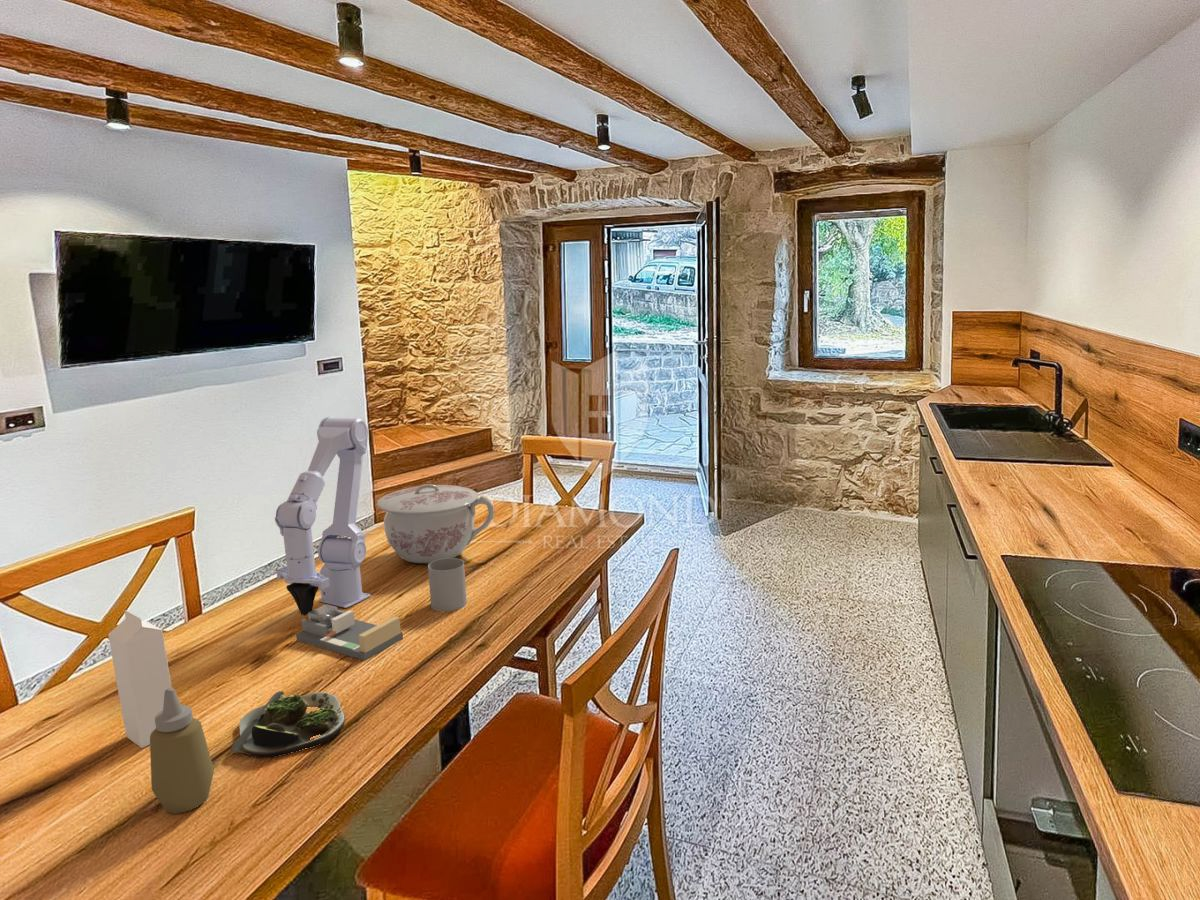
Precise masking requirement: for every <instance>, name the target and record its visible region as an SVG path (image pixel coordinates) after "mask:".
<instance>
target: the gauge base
mask: <svg viewBox="0 0 1200 900" xmlns="http://www.w3.org/2000/svg"><path fill="white" fill-rule="evenodd" d="M345 612H346V611H345V610H341V609H338V616H339V615H341V614H343V613H345ZM354 622H355V624H354V625H352V626H350V627H348V628H346V629H344V630H342V631H340V632H338V633H335V634H333V635H331V636H329V637H326V634H328V633H330V632H332V631H333V630H332V626H330V627H328V628H327V625H324V624H320V623H317V622H313V621H310V620H309V619H306V618H304V619H302V620H301V627H302V628H301V629H302V631H299V632H297V633H296V634H295V637H296V641H297V642H301V643H304V644H307V645H311V646H314V647H317V648H321V649H324V650H328V651H332V652H334V653H338V654H340V655H341V654H342V655H345V656H348V657H351V658H354V659H358V660H361V661H363V662H365V661H366V660H368V659H370V658H372V657H373V656H374V655H377V654H379V653H381V652H382V651H384V650H386V649H387V648H389V647H390V646H393V645H394V644H396V643H397V641H398V642H399V641H401V640H403V639H404V637H403V634H404V633H403V631H401V621H400V617H398V616H394V615H393V616H391V617H390V618H388V619H386V620H385V621H383V622H381V623H379V624H374V623H370V622H366V621H362V620H358V619H355V618H354ZM395 642H396V643H395ZM385 648H386V649H385ZM378 652H379V653H378Z"/></svg>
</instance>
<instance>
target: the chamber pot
mask: <svg viewBox="0 0 1200 900" xmlns="http://www.w3.org/2000/svg"><path fill="white" fill-rule="evenodd" d="M479 505H485V506H486V507H487V513H488V515H487V518H486V519H485V520H484V522H483V523H482V524H481V525H480V526H477V527H475V516H476V514H477V513H476V512H477V511H476V507H477V506H479ZM376 507H377V508H378V509H380V510H381V511H383V512H385V515H384V517H383V528H384V532H385V536H386V539H387V542H388V543H387V544H389V546H390V547H391V548H392V549H393V551H394V552H395V553H396V554H397V556H399V557H400V558H401V559H402V560H404V561H406V562H409V563H414V564H421V565H422V564H423V565H428V564H429V563H431V562H432V561H435V560H438V559H443V558H456V557H458V556H459V555H462V553H463V552H464V551H465V549H466V548H467V546H469V545H470V544H471V543H472V541H473V540H474V538H475V537H476V536H477V535H478V534H479V533H481V532H482V531H483V530H485V529H486V528H488V526H489V525H490V523H491V522H492V520H493V519H494V516H495V509H494V508H495V507H494V505H493V502H492V501H491V500H490V499H489V498H488V497H486V496H484V495H480V497H479V495H478V492H477V491H475V490H474V489H472V488H468V487H465V486H459V485H453V484H451V485H449V484H433V483H431V484H430V483H426V484H421V485H418V486H412V487H407V488H403V489H399V490H396V491H392V492H390V493H388V494H385V495H383V496H382V497H380V498H379V499H378V500H377V501H376Z"/></svg>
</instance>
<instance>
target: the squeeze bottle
mask: <svg viewBox="0 0 1200 900" xmlns="http://www.w3.org/2000/svg"><path fill="white" fill-rule="evenodd" d="M192 711H193V710H192V707H190V706H189V705H186V704H185V705H184V704H183V705H182V704H181V701H180V699H179V697H178V695H177V692H176V690H175V689H174V688H173V687H172V688H169V689H167V690H165V694H164V704H163V710H162V711H161V712H159V713H158V714H157V715H156V716H155V725H156V729H155V730H154V731H153V732H152V733H151V735H150V745H149V747H150V748H149V749H150V752H149V753H150V755H149V756H150V776H151V777H150V778H151V779H150V780H151V783H150V784H151V791H152V793H153V794H154V795H155V797H156V798H157V800H158V801H159V803H160V805H161V806H162V808H163V809H164V811H165V812H166V813H169V812H170V814H182V813H181V812H183V813H187V812H186V811H188V812H190V811H192V810H191V809H193V808H195V809H197V808H198V807H197V806H199V805H200V804H201V805H203V804H204V803H205V802H206V801H205V800H207V799H208V798H209V795H210V790H211V786H212V783H213V782H212V781H213V778H214V772H215V769H214V765H213V762H212V757H211V754H210V750H209V747H208V743H207V740H206V737H205V732H204V729H203V726H202V723H201V721H200V720H199V719H198V718H194V717H193V716H194V715H193V712H192ZM204 801H205V802H204ZM203 802H204V803H203ZM202 803H203V804H202ZM201 805H200V806H201ZM200 806H199V807H200ZM196 807H197V808H196ZM189 810H190V811H189ZM193 810H194V809H193Z"/></svg>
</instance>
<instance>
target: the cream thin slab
mask: <svg viewBox="0 0 1200 900" xmlns="http://www.w3.org/2000/svg"><path fill="white" fill-rule="evenodd" d="M354 612H355V611H353V610H350V609H349V610H347V611H345V613H343V614H341V615H339V616H337V617H335V618H333V619H331V621H332V630H333V631H332V632H330V633H328V634H326V637H329V636H331V635H333V634H335V633H338V632H340V631H342V630H344V629H346V628H348V627H350V626H352V625H354V624H355V622H354V619H355V613H354Z"/></svg>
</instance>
